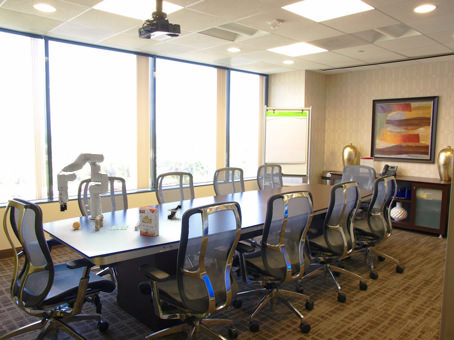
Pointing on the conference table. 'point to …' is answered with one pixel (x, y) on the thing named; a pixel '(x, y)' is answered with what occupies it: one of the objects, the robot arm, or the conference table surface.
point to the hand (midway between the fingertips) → (63, 210)
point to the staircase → (174, 211)
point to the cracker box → (149, 221)
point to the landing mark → (119, 227)
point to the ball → (76, 225)
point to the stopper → (137, 225)
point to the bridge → (98, 222)
